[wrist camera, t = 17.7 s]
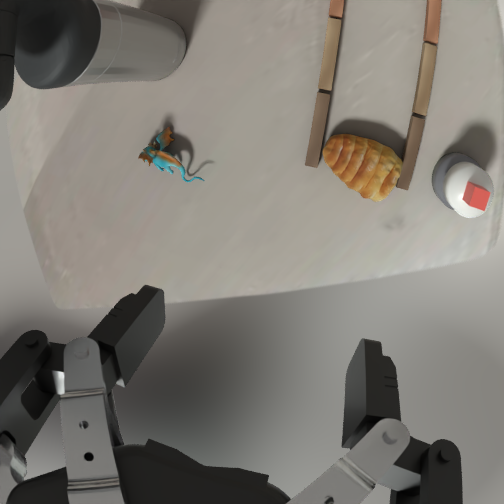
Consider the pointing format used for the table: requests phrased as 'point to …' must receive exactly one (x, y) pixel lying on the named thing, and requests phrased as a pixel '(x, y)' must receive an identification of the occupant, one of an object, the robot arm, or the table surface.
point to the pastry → (363, 165)
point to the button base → (443, 168)
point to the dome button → (468, 189)
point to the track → (420, 95)
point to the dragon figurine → (163, 155)
